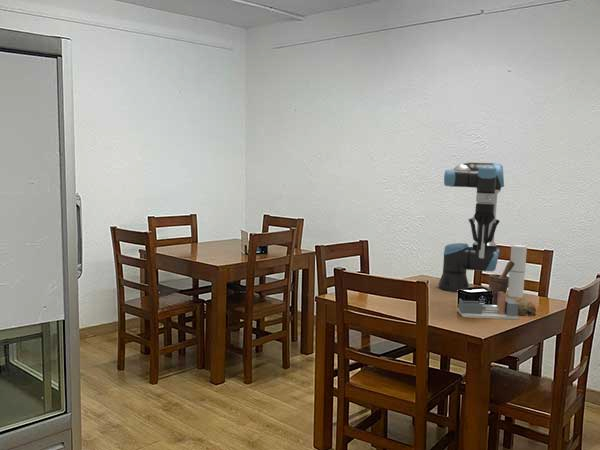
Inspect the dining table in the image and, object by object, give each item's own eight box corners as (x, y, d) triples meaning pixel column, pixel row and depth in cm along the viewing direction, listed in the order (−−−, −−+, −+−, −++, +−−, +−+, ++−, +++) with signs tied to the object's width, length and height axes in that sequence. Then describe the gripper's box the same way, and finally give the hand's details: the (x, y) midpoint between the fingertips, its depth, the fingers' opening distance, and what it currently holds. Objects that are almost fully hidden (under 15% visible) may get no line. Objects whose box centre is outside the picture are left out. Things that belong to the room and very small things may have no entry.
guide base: (456, 309, 271) (457, 295, 270) (509, 312, 270) (510, 297, 270) (463, 317, 259) (464, 302, 258) (518, 319, 258) (519, 304, 258)
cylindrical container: (507, 296, 300) (511, 246, 298) (507, 293, 307) (511, 244, 304) (523, 298, 298) (527, 247, 295) (522, 295, 305) (526, 245, 302)
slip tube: (477, 310, 267) (478, 290, 266) (510, 311, 267) (512, 291, 265) (480, 313, 263) (481, 292, 262) (513, 314, 262) (515, 294, 261)
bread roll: (516, 323, 266) (522, 309, 262) (504, 308, 274) (510, 294, 270) (536, 322, 269) (542, 308, 265) (523, 307, 277) (529, 293, 273)
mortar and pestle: (497, 299, 293) (500, 258, 291) (514, 303, 287) (517, 261, 284) (483, 302, 286) (486, 260, 284) (500, 306, 279) (503, 263, 277)
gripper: (471, 203, 258) (468, 258, 260) (503, 204, 257) (499, 259, 260) (467, 201, 265) (464, 255, 268) (498, 202, 265) (494, 256, 268)
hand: (481, 257), depth 264 cm, fingers closed
